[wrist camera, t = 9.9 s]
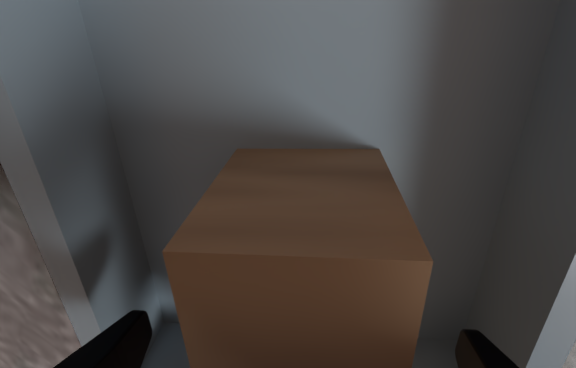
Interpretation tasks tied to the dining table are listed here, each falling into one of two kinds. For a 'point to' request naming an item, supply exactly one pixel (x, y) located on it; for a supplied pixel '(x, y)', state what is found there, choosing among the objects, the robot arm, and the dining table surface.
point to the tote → (300, 144)
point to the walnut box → (300, 264)
